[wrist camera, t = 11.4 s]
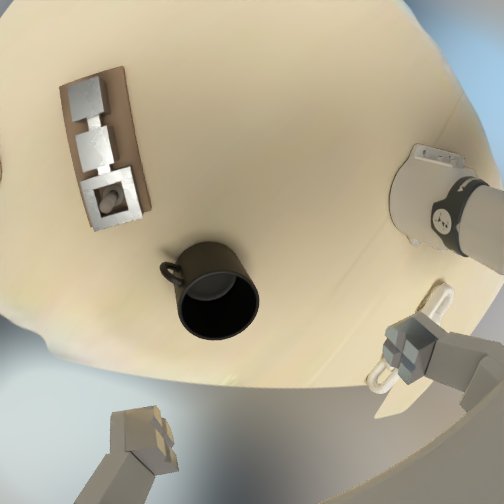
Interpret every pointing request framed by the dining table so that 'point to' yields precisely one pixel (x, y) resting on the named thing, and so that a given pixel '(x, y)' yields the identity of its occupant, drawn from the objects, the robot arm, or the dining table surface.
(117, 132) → the brown board with peg
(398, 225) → the robot arm
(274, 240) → the dining table surface
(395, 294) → the dining table surface
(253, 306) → the mug
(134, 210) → the hasp latch
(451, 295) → the chain
